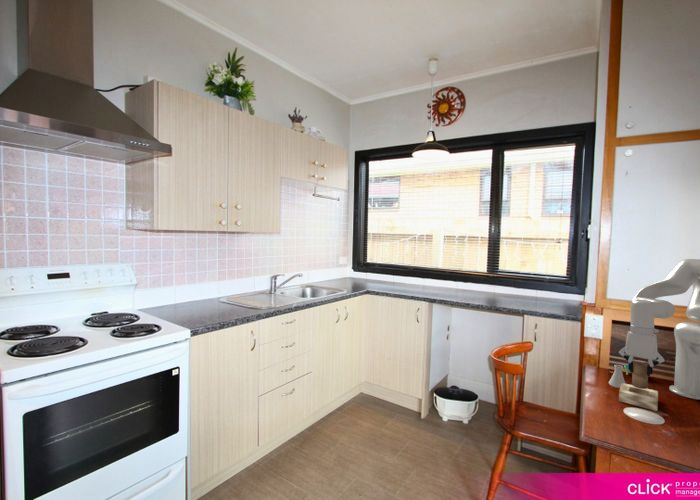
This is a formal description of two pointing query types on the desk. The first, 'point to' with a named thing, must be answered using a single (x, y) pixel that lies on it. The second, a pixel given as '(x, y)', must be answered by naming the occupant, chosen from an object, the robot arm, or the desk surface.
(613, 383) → the flask
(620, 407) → the desk surface
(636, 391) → the birch holder
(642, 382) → the walnut peg
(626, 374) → the blue toy figure
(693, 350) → the robot arm
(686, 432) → the desk surface
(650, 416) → the white round dome
